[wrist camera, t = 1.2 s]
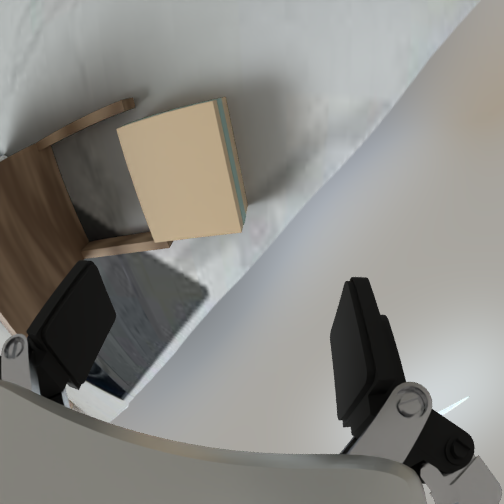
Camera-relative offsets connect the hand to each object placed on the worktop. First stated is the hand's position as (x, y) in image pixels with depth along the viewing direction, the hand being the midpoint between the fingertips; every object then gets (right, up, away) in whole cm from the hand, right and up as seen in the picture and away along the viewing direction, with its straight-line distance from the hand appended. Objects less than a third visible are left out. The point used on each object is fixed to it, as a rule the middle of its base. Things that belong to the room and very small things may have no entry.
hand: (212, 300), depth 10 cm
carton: (-4, +11, +18) cm, 22 cm away
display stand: (-17, +10, +20) cm, 28 cm away
